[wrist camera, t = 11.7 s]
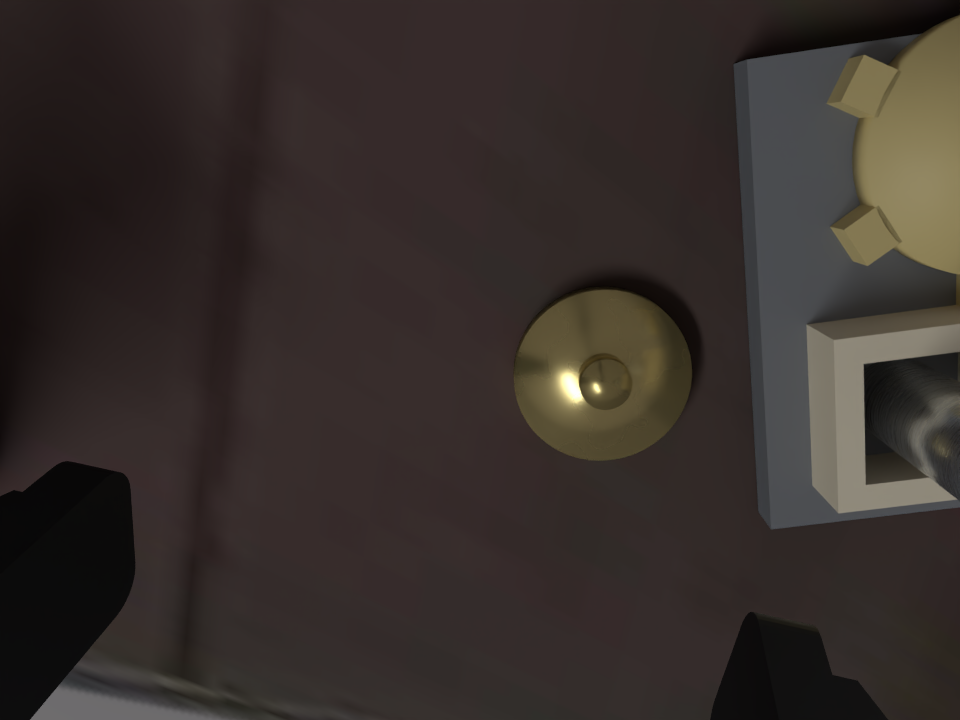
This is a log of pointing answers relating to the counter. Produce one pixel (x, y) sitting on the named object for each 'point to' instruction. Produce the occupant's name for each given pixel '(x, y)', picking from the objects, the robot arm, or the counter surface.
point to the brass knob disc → (602, 373)
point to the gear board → (847, 261)
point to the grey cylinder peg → (916, 417)
